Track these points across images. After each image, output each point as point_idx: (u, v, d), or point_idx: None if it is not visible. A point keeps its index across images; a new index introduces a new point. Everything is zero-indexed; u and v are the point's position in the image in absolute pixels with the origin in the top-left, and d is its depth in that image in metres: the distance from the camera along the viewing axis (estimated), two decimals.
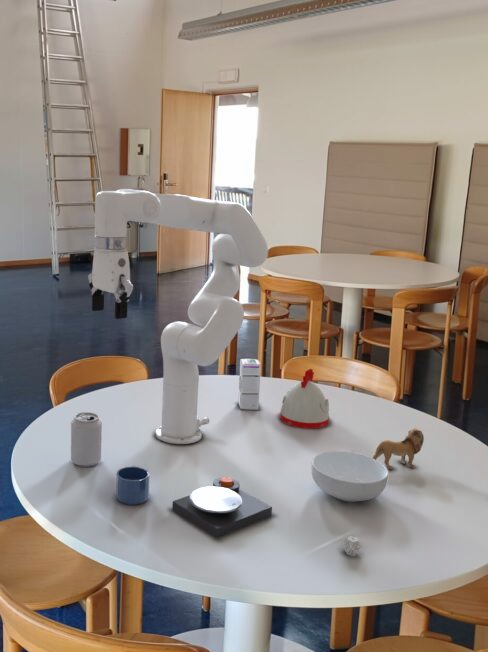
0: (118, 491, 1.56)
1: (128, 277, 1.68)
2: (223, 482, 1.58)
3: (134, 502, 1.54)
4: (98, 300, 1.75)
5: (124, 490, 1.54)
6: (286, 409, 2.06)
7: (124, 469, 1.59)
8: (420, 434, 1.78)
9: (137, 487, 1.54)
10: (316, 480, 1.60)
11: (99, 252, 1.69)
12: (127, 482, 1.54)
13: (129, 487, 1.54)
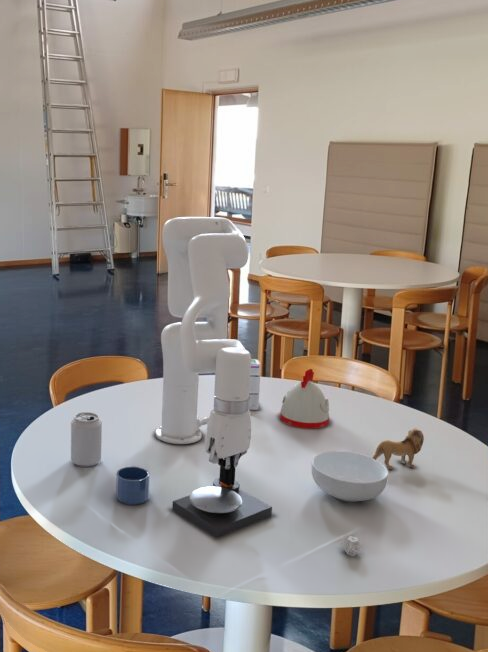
0: (118, 491, 1.56)
1: None
2: (223, 485, 1.58)
3: (134, 502, 1.54)
4: None
5: (124, 490, 1.54)
6: (286, 409, 2.06)
7: (124, 469, 1.59)
8: (420, 434, 1.78)
9: (137, 487, 1.54)
10: (316, 480, 1.60)
11: (235, 417, 1.53)
12: (127, 482, 1.54)
13: (129, 487, 1.54)
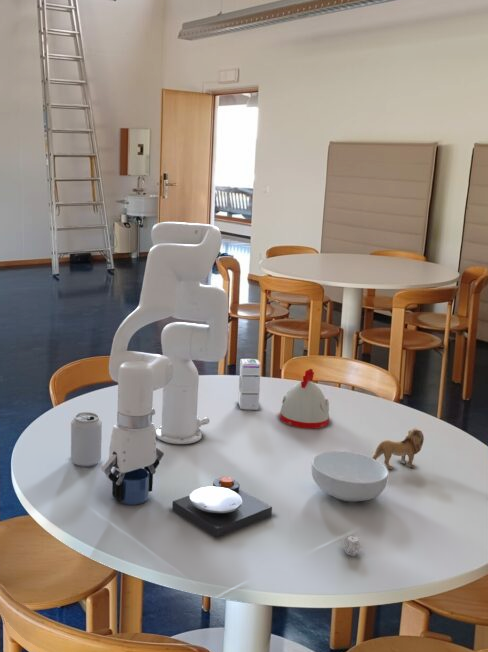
0: None
1: None
2: (223, 482, 1.58)
3: (134, 502, 1.54)
4: None
5: (124, 490, 1.54)
6: (286, 409, 2.06)
7: None
8: (420, 434, 1.78)
9: (137, 487, 1.54)
10: (316, 480, 1.60)
11: (138, 431, 1.52)
12: (127, 482, 1.54)
13: (129, 487, 1.54)
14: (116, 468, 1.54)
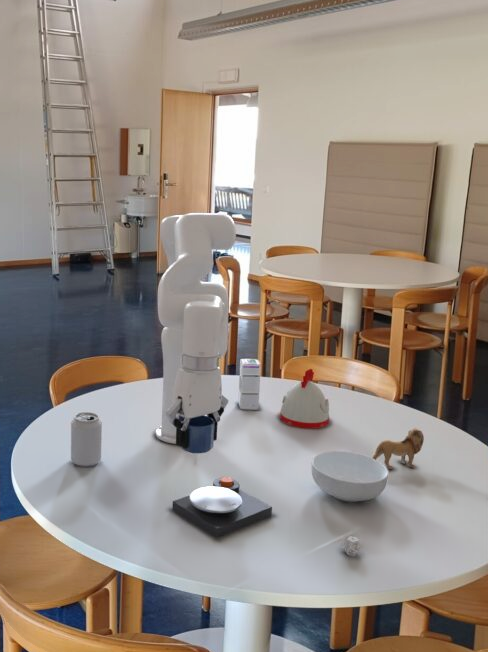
0: None
1: None
2: (223, 482, 1.58)
3: (199, 450, 1.47)
4: None
5: (189, 437, 1.47)
6: (286, 409, 2.06)
7: None
8: (420, 434, 1.78)
9: (203, 434, 1.46)
10: (316, 480, 1.60)
11: (204, 374, 1.44)
12: (192, 428, 1.46)
13: (194, 434, 1.46)
14: (180, 414, 1.47)
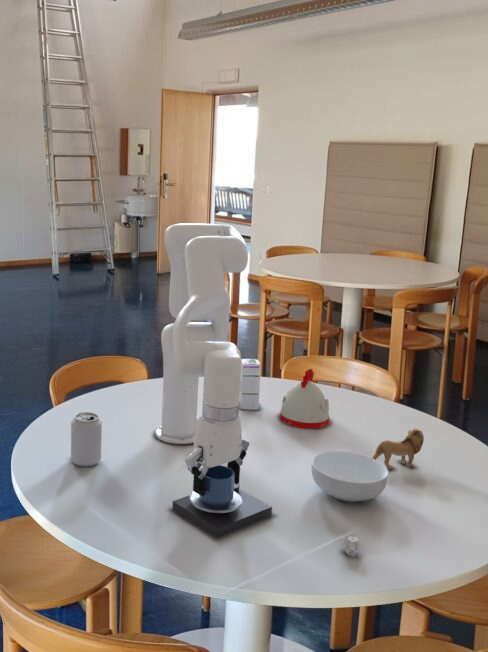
0: None
1: None
2: None
3: (220, 502, 1.47)
4: None
5: (209, 489, 1.47)
6: (286, 409, 2.06)
7: None
8: (420, 434, 1.78)
9: (223, 486, 1.47)
10: (316, 480, 1.60)
11: (225, 424, 1.45)
12: (213, 481, 1.46)
13: (215, 486, 1.46)
14: (199, 461, 1.47)
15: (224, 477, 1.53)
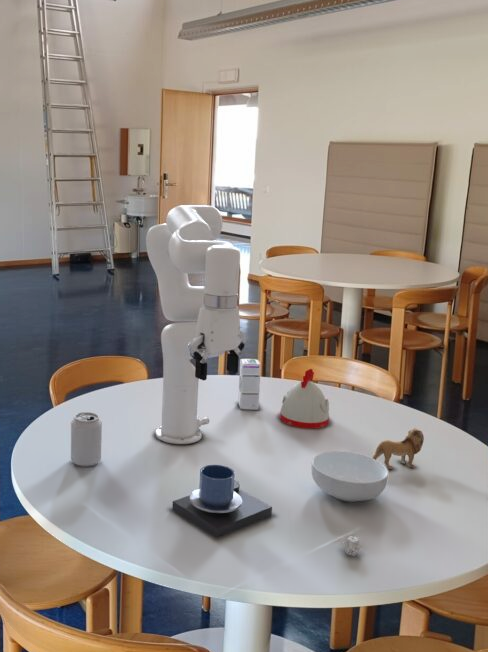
0: (202, 490, 1.48)
1: None
2: None
3: (220, 502, 1.47)
4: None
5: (209, 489, 1.47)
6: (286, 409, 2.06)
7: (206, 467, 1.52)
8: (420, 434, 1.78)
9: (223, 486, 1.47)
10: (316, 480, 1.60)
11: (224, 312, 1.56)
12: (213, 481, 1.46)
13: (215, 486, 1.46)
14: (201, 348, 1.58)
15: (224, 477, 1.53)
